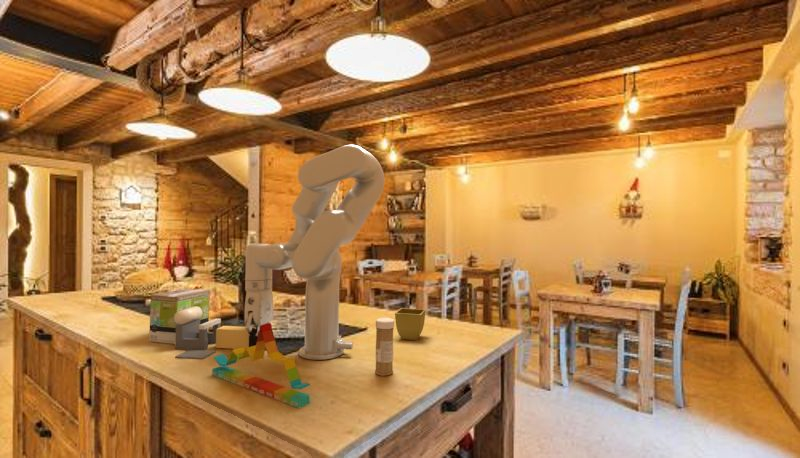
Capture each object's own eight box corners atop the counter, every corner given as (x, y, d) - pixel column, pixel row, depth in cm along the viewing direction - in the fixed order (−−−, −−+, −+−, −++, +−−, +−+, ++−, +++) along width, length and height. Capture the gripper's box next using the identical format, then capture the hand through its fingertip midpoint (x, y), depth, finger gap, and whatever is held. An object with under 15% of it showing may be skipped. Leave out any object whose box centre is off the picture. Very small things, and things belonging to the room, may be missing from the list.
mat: (215, 352, 114) (215, 350, 114) (203, 359, 108) (203, 357, 108) (189, 351, 114) (189, 349, 114) (175, 357, 108) (175, 356, 108)
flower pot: (393, 340, 128) (394, 312, 128) (400, 333, 137) (400, 307, 137) (420, 342, 126) (421, 314, 126) (425, 335, 135) (425, 309, 135)
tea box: (176, 344, 121) (177, 296, 121) (148, 342, 123) (148, 294, 123) (209, 332, 135) (210, 288, 135) (184, 330, 137) (184, 287, 137)
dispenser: (190, 340, 125) (191, 305, 125) (221, 342, 124) (221, 306, 124) (172, 348, 116) (172, 311, 116) (204, 350, 115) (205, 312, 115)
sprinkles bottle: (374, 370, 101) (375, 317, 101) (392, 369, 102) (393, 317, 102) (375, 376, 97) (376, 321, 97) (394, 376, 97) (394, 321, 97)
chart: (211, 376, 96) (211, 314, 96) (223, 372, 99) (224, 312, 99) (297, 410, 79) (298, 335, 79) (309, 404, 82) (310, 331, 82)
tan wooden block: (267, 346, 120) (267, 327, 120) (261, 350, 116) (261, 331, 116) (223, 343, 121) (223, 325, 121) (215, 347, 117) (216, 329, 117)
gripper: (258, 289, 109) (257, 356, 109) (282, 281, 126) (281, 339, 126) (232, 289, 110) (231, 355, 110) (259, 281, 127) (258, 338, 127)
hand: (258, 346), depth 118 cm, fingers closed on tan wooden block, 4 cm apart
